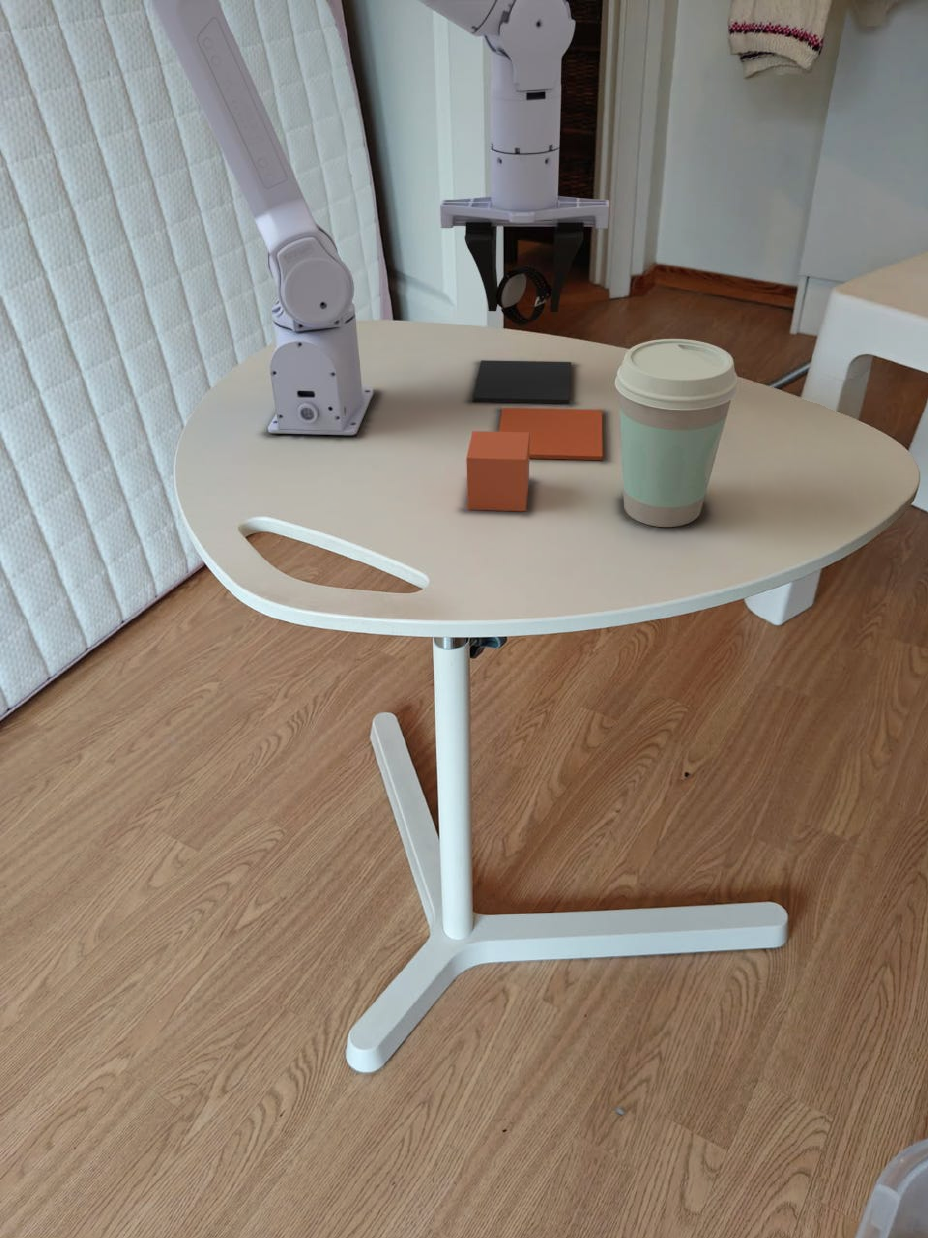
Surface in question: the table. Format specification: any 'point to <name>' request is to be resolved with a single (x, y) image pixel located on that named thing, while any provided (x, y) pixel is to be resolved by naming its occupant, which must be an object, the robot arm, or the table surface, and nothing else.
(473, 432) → the terracotta block
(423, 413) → the table surface
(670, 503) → the coffee cup
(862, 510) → the table surface
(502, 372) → the dark mat
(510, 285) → the smartwatch
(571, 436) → the terracotta mat
